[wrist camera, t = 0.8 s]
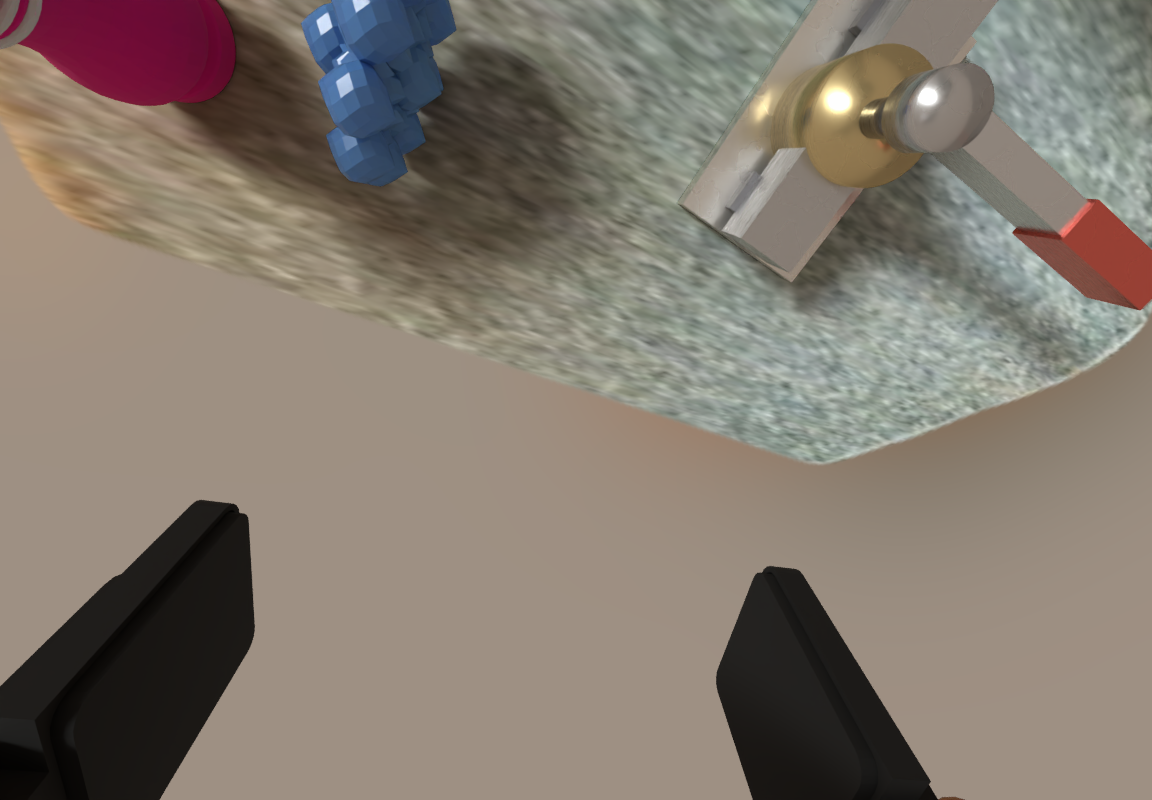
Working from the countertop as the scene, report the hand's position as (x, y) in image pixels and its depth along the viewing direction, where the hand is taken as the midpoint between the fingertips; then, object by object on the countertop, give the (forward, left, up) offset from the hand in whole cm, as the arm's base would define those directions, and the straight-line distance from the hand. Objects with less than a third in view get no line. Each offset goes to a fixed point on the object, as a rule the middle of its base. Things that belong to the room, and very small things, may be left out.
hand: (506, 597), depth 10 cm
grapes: (-6, -12, -29) cm, 32 cm away
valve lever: (-17, +16, -19) cm, 30 cm away
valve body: (-17, +10, -29) cm, 35 cm away
